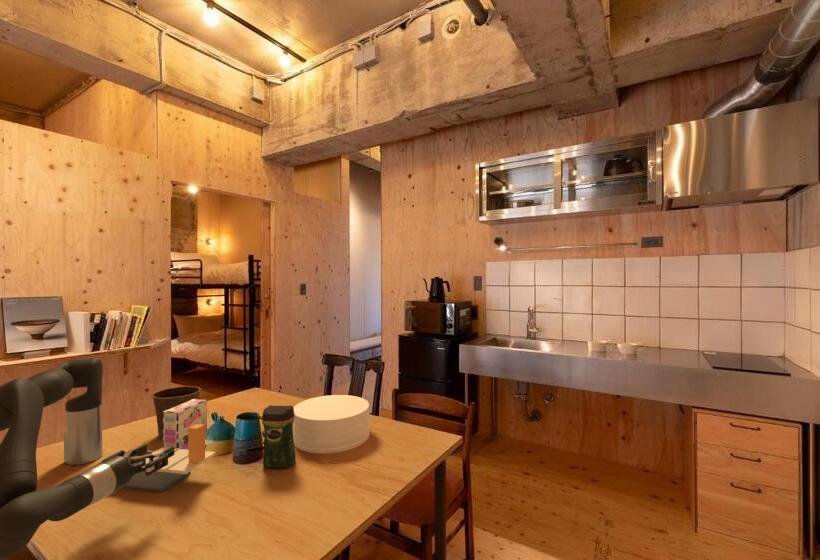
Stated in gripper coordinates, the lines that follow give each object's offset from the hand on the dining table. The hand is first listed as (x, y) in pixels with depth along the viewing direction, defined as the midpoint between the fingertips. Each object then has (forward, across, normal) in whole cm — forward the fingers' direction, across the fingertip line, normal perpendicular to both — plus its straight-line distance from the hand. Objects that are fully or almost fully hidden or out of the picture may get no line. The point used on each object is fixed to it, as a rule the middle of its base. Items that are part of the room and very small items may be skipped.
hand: (159, 449), depth 104 cm
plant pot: (+41, +31, +14) cm, 53 cm away
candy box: (+27, +15, +14) cm, 34 cm away
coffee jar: (+25, -21, +14) cm, 35 cm away
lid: (+9, +4, +8) cm, 13 cm away
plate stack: (+48, -29, +14) cm, 58 cm away
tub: (+9, +12, +14) cm, 21 cm away
